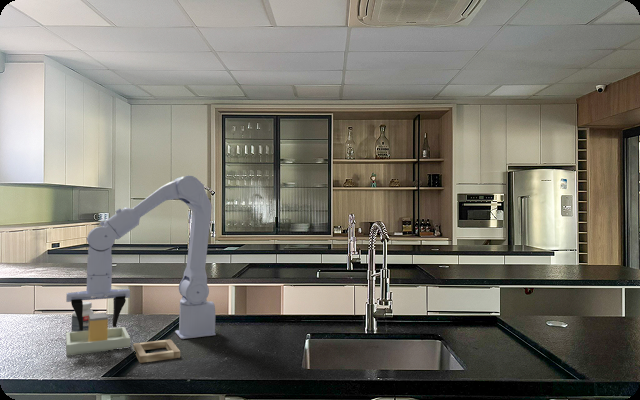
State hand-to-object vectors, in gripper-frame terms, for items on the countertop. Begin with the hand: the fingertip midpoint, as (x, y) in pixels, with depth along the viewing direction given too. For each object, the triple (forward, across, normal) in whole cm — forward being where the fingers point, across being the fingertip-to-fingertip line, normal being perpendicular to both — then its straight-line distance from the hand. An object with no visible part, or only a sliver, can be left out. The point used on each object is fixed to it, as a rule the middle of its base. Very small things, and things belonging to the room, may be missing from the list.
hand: (97, 327), depth 119 cm
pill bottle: (+5, -3, +11) cm, 12 cm away
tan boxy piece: (+4, 0, 0) cm, 4 cm away
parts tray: (+4, 0, 0) cm, 4 cm away
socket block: (+4, +12, -13) cm, 18 cm away
